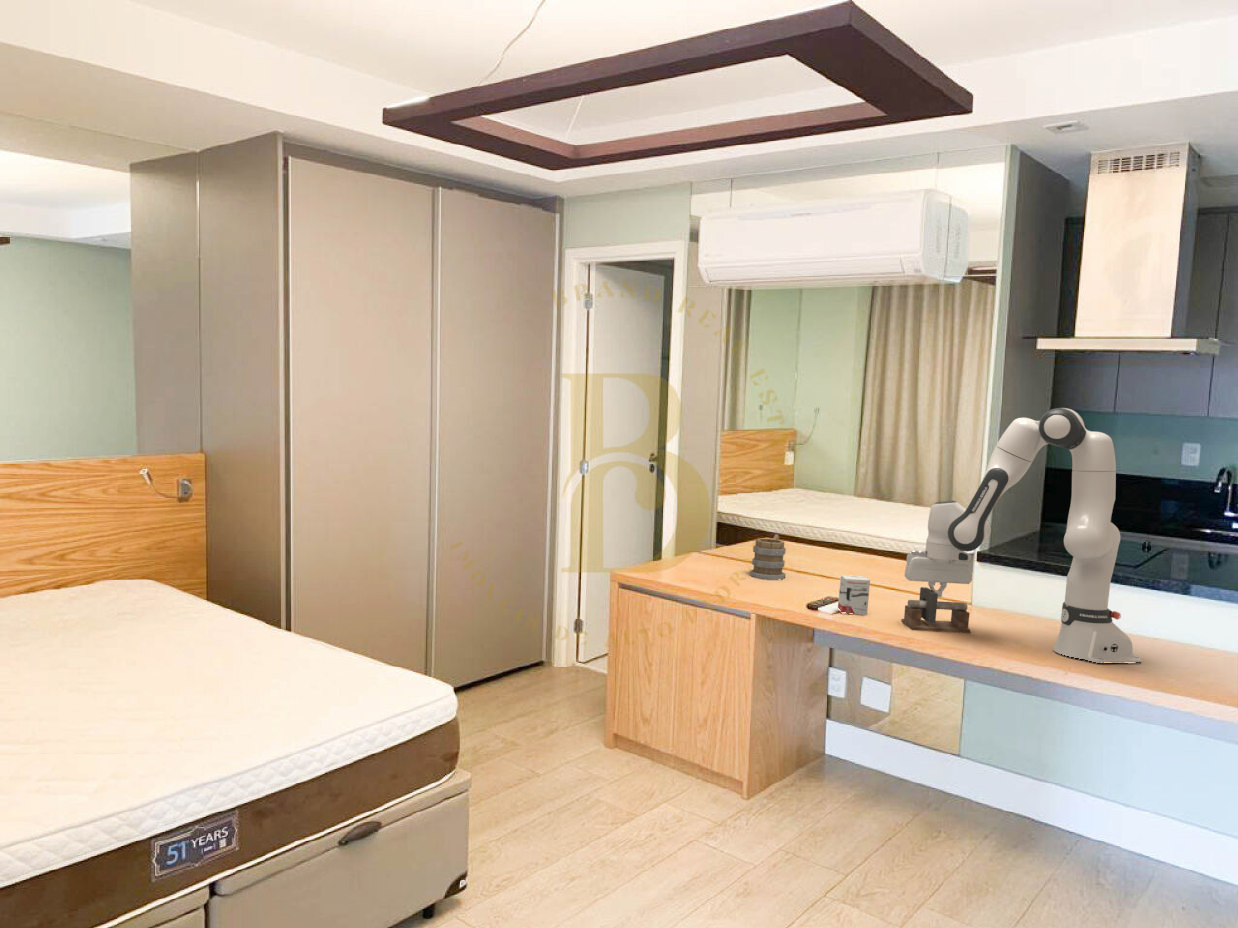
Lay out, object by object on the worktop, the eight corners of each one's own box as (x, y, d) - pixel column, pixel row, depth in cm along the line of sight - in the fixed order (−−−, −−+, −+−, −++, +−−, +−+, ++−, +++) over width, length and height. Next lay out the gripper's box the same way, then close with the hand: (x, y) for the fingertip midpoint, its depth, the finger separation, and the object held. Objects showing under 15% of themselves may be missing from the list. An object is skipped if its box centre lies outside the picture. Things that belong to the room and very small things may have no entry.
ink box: (841, 614, 296) (844, 577, 295) (837, 610, 301) (840, 574, 300) (867, 615, 297) (870, 579, 296) (863, 611, 302) (865, 576, 301)
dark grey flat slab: (924, 615, 290) (926, 587, 290) (935, 622, 281) (937, 593, 281) (918, 615, 290) (920, 587, 290) (928, 622, 281) (931, 593, 281)
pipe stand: (957, 624, 292) (959, 598, 291) (970, 632, 282) (973, 606, 281) (901, 621, 291) (903, 595, 290) (912, 630, 281) (915, 603, 280)
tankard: (779, 581, 343) (782, 541, 342) (746, 576, 349) (749, 537, 347) (792, 573, 361) (795, 535, 360) (761, 569, 367) (764, 531, 366)
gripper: (911, 552, 281) (906, 596, 282) (976, 555, 282) (972, 600, 283) (903, 548, 287) (899, 592, 288) (968, 552, 288) (963, 595, 289)
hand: (936, 596), depth 286 cm, fingers closed
